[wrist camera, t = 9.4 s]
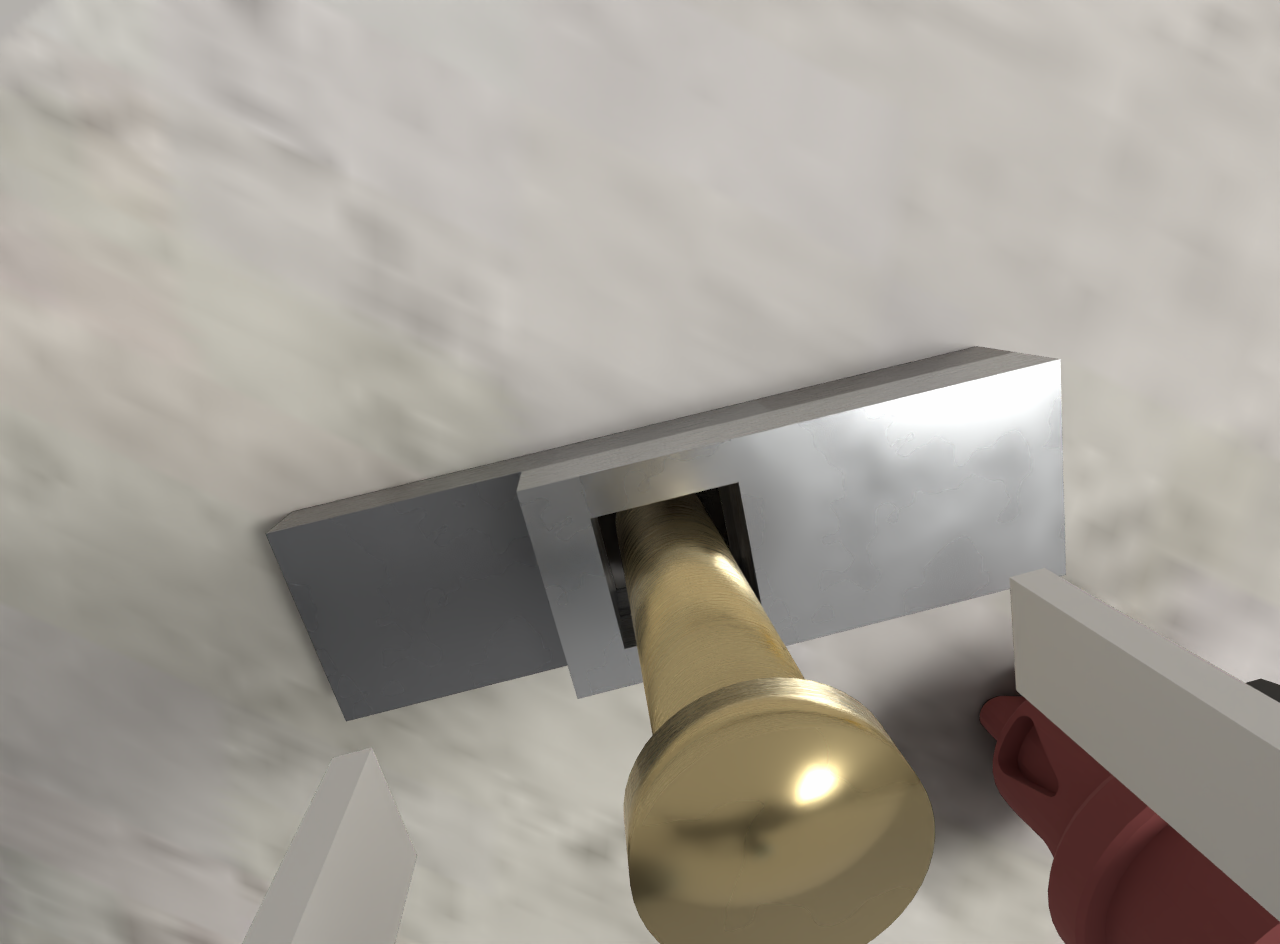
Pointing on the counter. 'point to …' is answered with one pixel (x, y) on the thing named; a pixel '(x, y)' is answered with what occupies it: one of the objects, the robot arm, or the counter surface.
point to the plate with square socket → (676, 466)
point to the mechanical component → (1111, 846)
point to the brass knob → (752, 764)
